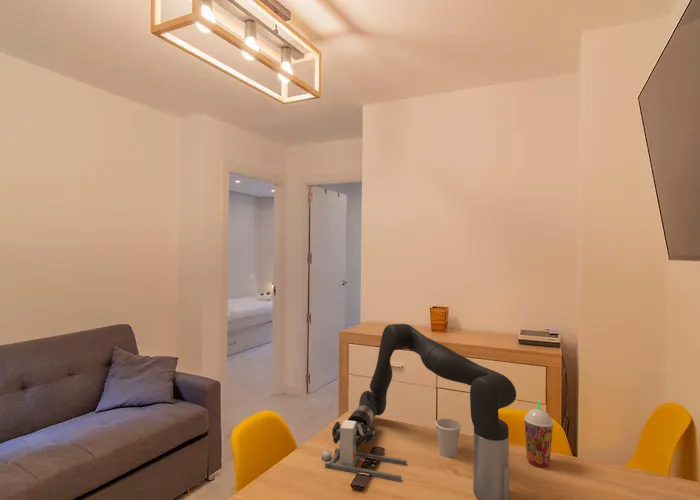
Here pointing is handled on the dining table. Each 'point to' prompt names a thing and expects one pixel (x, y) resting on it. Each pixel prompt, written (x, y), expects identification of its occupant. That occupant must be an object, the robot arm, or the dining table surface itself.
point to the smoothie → (538, 436)
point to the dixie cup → (448, 436)
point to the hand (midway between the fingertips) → (345, 442)
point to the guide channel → (327, 456)
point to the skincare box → (348, 443)
